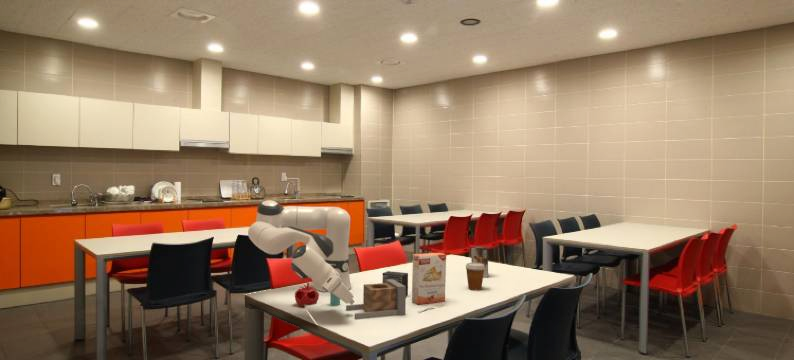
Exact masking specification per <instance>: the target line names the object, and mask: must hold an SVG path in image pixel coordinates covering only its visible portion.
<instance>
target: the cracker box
mask: <svg viewBox="0 0 794 360" xmlns="http://www.w3.org/2000/svg"><path fill="white" fill-rule="evenodd" d="M446 272H447V254H445V253H442V252H429V253H427V252H426V253H414V254H412V273H411V274H412V275H411V276H412V280H411V281H412V282H411V285H412V287H411V302H412V303H414V304H417V305H425V304H426V305H427V304H434V303H441V302H442V301H443V302H446V276H447V275H446V274H447V273H446ZM443 302H442V303H443Z"/></svg>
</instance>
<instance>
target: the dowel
mask: <svg viewBox="0 0 794 360" xmlns="http://www.w3.org/2000/svg"><path fill="white" fill-rule="evenodd" d="M339 276H340V275H339ZM329 294H330V302H329V304H330V306H333V307H339V306H340V305H341V299H339V298H338V297H337V296H336V295H334V294H333V293H329Z"/></svg>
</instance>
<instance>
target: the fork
mask: <svg viewBox="0 0 794 360" xmlns="http://www.w3.org/2000/svg"><path fill="white" fill-rule="evenodd" d="M446 304H447V302H446V301H442V302H438V304H436V305H434V306H433V307H431V306H429V307H426V308H424V309H421V310H419V311H417V313H418V314H421V313H423V312H424V311H427V310H428V309H434V310H435V309H436V308H438V309H441V308H442V307H443V306H445V305H446Z"/></svg>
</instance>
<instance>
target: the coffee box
mask: <svg viewBox="0 0 794 360" xmlns="http://www.w3.org/2000/svg"><path fill="white" fill-rule="evenodd" d="M470 249H471V250H470V251H471V258H470V259H471V260H470V261H471V262H470V263H481V264H484V267H485V269H484V274H483V278H486V279H487V278H489V247H488V246H476V245H475V246H471V248H470Z"/></svg>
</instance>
